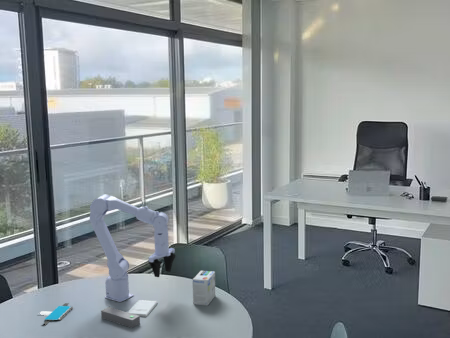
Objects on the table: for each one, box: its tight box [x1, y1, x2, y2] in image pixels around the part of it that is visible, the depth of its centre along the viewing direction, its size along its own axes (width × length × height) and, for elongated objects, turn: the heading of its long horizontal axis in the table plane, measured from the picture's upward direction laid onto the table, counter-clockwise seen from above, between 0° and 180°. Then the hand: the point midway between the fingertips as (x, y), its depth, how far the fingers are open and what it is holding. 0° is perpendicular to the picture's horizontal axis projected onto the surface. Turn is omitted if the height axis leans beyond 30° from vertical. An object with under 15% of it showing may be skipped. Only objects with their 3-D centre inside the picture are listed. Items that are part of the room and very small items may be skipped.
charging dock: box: [100, 306, 141, 329], centre depth 177 cm, size 16×4×3 cm, turn 57°
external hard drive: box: [127, 299, 158, 318], centre depth 187 cm, size 2×8×12 cm
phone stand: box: [39, 302, 74, 326], centre depth 184 cm, size 20×12×2 cm, turn 174°
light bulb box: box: [192, 270, 216, 306], centre depth 194 cm, size 11×7×11 cm, turn 164°
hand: (162, 274), depth 196 cm, fingers open, 7 cm apart
